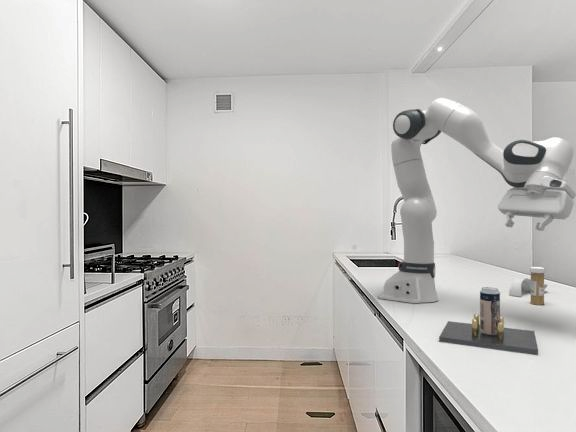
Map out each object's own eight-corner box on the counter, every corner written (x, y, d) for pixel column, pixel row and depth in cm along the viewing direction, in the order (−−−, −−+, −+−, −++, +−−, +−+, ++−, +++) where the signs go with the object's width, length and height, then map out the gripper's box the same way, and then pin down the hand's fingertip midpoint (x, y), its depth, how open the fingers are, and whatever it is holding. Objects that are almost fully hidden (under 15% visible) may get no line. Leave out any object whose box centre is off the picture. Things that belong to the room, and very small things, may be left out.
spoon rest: (521, 288, 190) (521, 272, 190) (551, 292, 181) (551, 275, 181) (500, 295, 174) (500, 277, 174) (532, 299, 165) (532, 281, 165)
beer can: (498, 337, 109) (498, 290, 109) (478, 334, 112) (478, 288, 112) (501, 333, 113) (501, 288, 113) (481, 330, 116) (481, 286, 116)
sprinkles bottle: (545, 305, 153) (546, 268, 153) (531, 304, 154) (531, 267, 154) (542, 303, 157) (542, 266, 157) (528, 302, 159) (528, 266, 159)
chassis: (439, 341, 110) (439, 321, 110) (448, 325, 126) (448, 307, 126) (538, 354, 100) (538, 332, 99) (534, 335, 115) (534, 316, 115)
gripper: (504, 181, 134) (486, 219, 132) (571, 182, 116) (552, 226, 114) (514, 192, 137) (497, 229, 135) (582, 194, 119) (563, 237, 117)
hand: (523, 227), depth 124 cm, fingers open, 8 cm apart
